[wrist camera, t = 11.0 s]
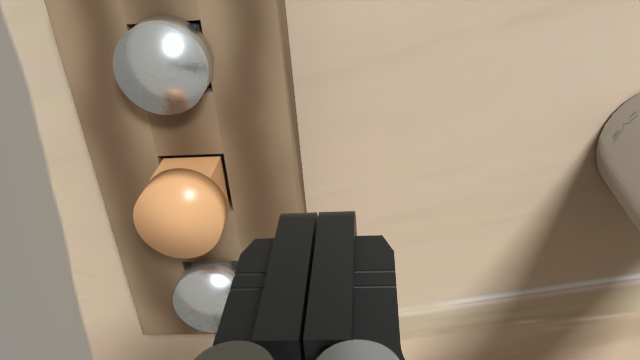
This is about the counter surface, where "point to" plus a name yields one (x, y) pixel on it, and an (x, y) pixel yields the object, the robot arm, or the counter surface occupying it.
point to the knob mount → (187, 129)
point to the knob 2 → (204, 292)
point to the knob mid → (183, 207)
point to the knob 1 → (164, 64)
